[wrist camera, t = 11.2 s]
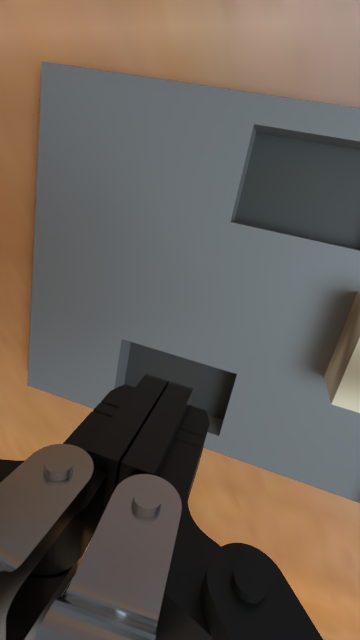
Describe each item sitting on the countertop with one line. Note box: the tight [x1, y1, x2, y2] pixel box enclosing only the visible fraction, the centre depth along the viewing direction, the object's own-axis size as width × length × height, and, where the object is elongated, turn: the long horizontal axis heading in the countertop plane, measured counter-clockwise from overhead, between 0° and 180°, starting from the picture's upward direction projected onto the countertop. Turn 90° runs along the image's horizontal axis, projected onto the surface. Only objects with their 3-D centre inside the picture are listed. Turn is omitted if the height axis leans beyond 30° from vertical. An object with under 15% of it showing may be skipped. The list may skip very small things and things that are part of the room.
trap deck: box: [27, 62, 360, 503], centre depth 23 cm, size 24×30×4 cm
